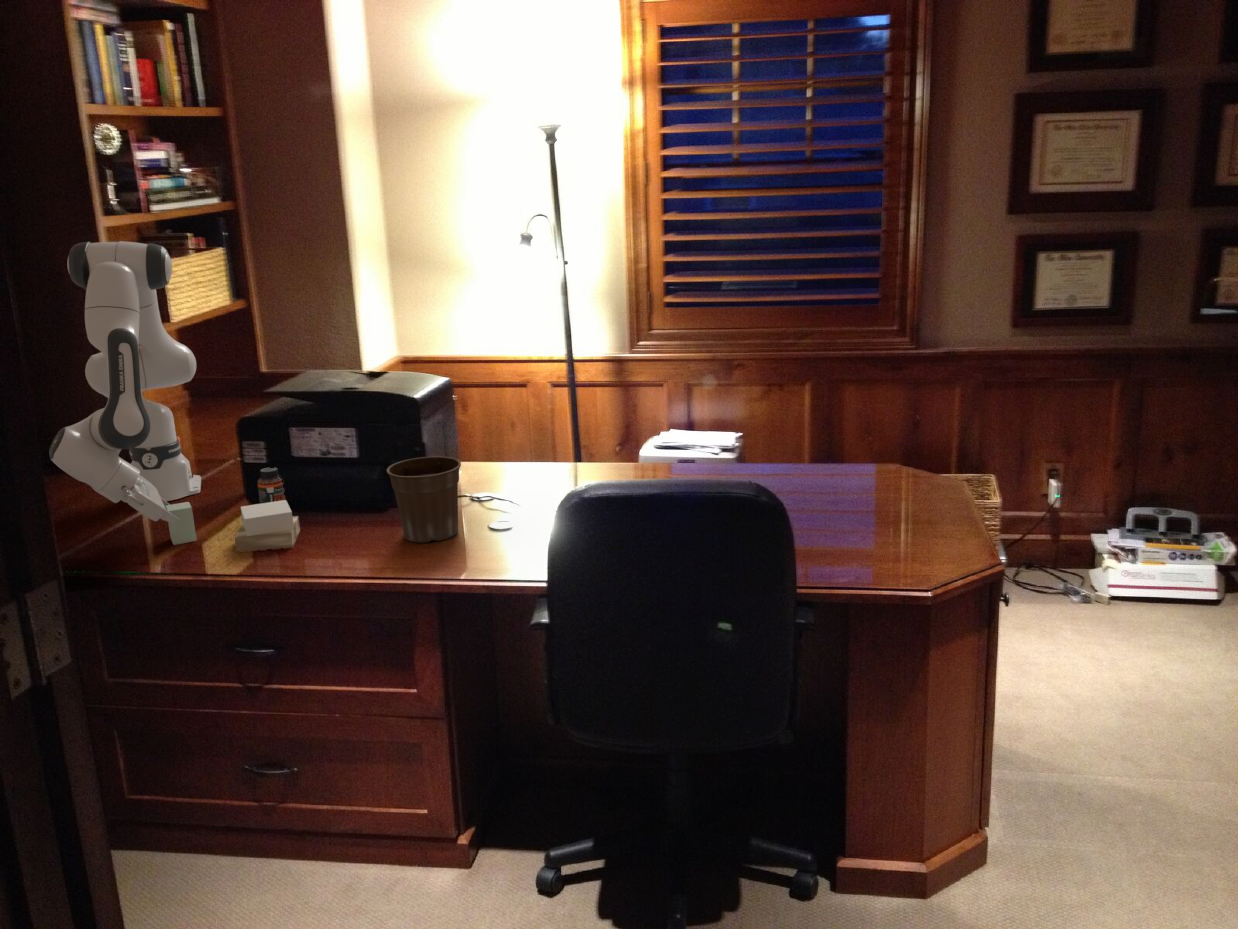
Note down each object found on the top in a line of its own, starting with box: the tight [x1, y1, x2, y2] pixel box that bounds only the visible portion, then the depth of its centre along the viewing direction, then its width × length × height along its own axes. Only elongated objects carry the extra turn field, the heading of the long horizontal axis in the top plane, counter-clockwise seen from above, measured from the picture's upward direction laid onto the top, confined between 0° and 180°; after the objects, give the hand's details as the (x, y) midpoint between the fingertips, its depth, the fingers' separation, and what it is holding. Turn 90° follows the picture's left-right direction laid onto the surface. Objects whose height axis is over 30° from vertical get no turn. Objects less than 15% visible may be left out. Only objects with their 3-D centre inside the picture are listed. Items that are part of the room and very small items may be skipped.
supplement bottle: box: [257, 467, 286, 504], centre depth 267 cm, size 6×6×11 cm
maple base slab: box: [234, 515, 301, 553], centre depth 249 cm, size 12×12×4 cm
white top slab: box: [240, 499, 294, 536], centre depth 248 cm, size 10×10×4 cm
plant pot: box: [386, 455, 462, 544], centre depth 247 cm, size 16×16×16 cm
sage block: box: [166, 501, 198, 546], centre depth 252 cm, size 5×5×8 cm
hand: (174, 516), depth 251 cm, fingers open, 8 cm apart
